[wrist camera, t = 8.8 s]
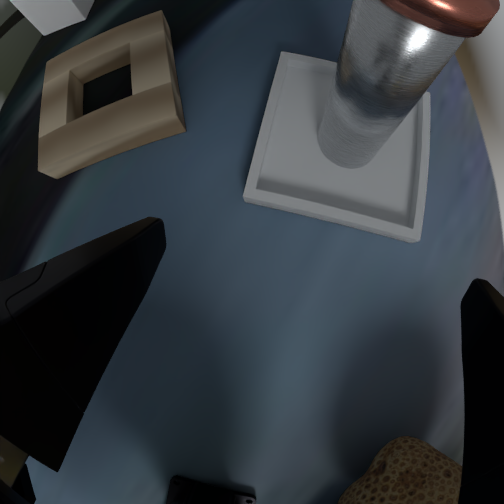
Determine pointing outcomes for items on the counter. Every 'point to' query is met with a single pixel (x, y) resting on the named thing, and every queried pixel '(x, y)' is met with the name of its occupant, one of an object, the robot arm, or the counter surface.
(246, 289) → the counter surface
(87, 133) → the socket block
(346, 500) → the natural sponge
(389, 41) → the silver and brown cylinder
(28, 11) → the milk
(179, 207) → the counter surface
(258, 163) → the tray
